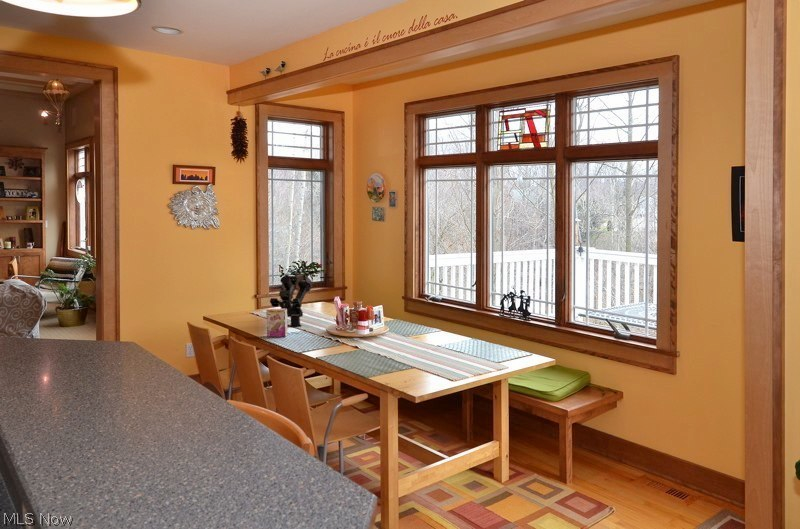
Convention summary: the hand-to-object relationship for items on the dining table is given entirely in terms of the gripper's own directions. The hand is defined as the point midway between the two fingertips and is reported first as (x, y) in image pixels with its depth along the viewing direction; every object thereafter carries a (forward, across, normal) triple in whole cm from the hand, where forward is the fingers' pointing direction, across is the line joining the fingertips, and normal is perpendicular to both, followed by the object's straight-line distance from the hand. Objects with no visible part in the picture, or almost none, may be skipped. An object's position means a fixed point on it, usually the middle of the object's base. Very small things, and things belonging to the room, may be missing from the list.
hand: (282, 314), depth 386 cm
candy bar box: (+15, 0, +2) cm, 15 cm away
